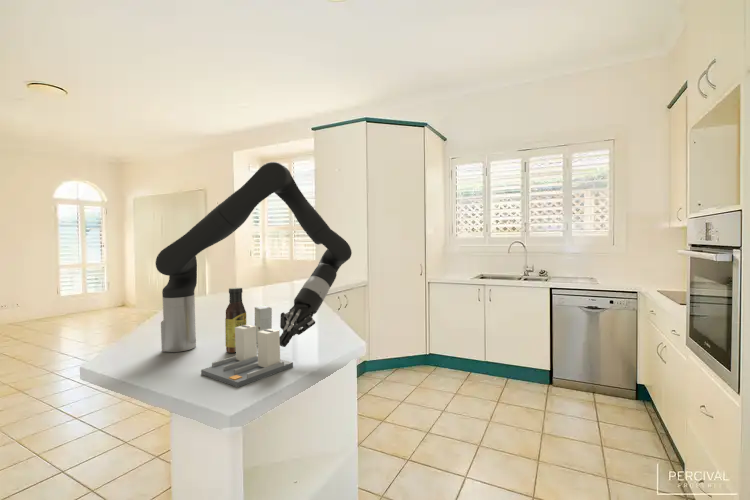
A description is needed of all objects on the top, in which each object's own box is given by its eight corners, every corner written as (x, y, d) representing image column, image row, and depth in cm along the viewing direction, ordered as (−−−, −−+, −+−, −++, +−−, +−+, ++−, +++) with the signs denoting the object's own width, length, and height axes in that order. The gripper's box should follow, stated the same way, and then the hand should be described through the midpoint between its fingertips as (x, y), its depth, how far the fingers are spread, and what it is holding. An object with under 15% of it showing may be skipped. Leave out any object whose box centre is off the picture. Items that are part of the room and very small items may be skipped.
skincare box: (254, 341, 128) (253, 306, 128) (266, 339, 131) (265, 304, 130) (259, 345, 123) (258, 308, 123) (273, 342, 126) (272, 307, 125)
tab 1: (248, 355, 106) (247, 323, 106) (256, 358, 104) (256, 325, 104) (235, 359, 103) (234, 326, 103) (244, 361, 101) (243, 328, 100)
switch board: (256, 357, 110) (256, 349, 110) (293, 366, 100) (292, 358, 100) (201, 374, 96) (200, 365, 96) (237, 387, 87) (237, 378, 87)
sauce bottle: (239, 354, 113) (238, 289, 113) (221, 353, 114) (219, 289, 114) (251, 348, 119) (249, 286, 119) (233, 347, 121) (232, 286, 120)
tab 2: (270, 361, 100) (269, 328, 100) (280, 364, 98) (279, 329, 98) (258, 365, 97) (257, 331, 97) (267, 368, 95) (266, 332, 95)
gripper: (290, 285, 112) (257, 334, 102) (321, 288, 104) (289, 341, 95) (303, 300, 117) (273, 348, 107) (335, 304, 109) (305, 356, 99)
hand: (281, 345), depth 101 cm, fingers closed
